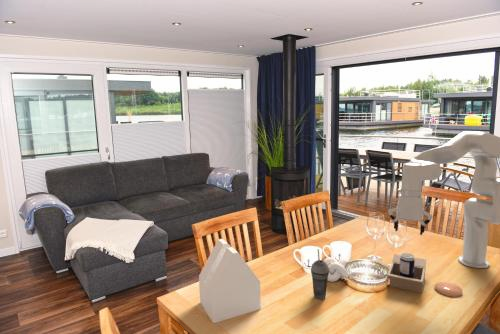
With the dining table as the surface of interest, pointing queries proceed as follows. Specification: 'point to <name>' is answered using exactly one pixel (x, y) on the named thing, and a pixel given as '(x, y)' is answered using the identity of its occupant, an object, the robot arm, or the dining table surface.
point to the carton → (405, 281)
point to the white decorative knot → (336, 269)
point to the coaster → (448, 289)
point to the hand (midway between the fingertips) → (408, 232)
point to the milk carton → (228, 284)
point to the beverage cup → (319, 278)
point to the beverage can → (407, 265)
